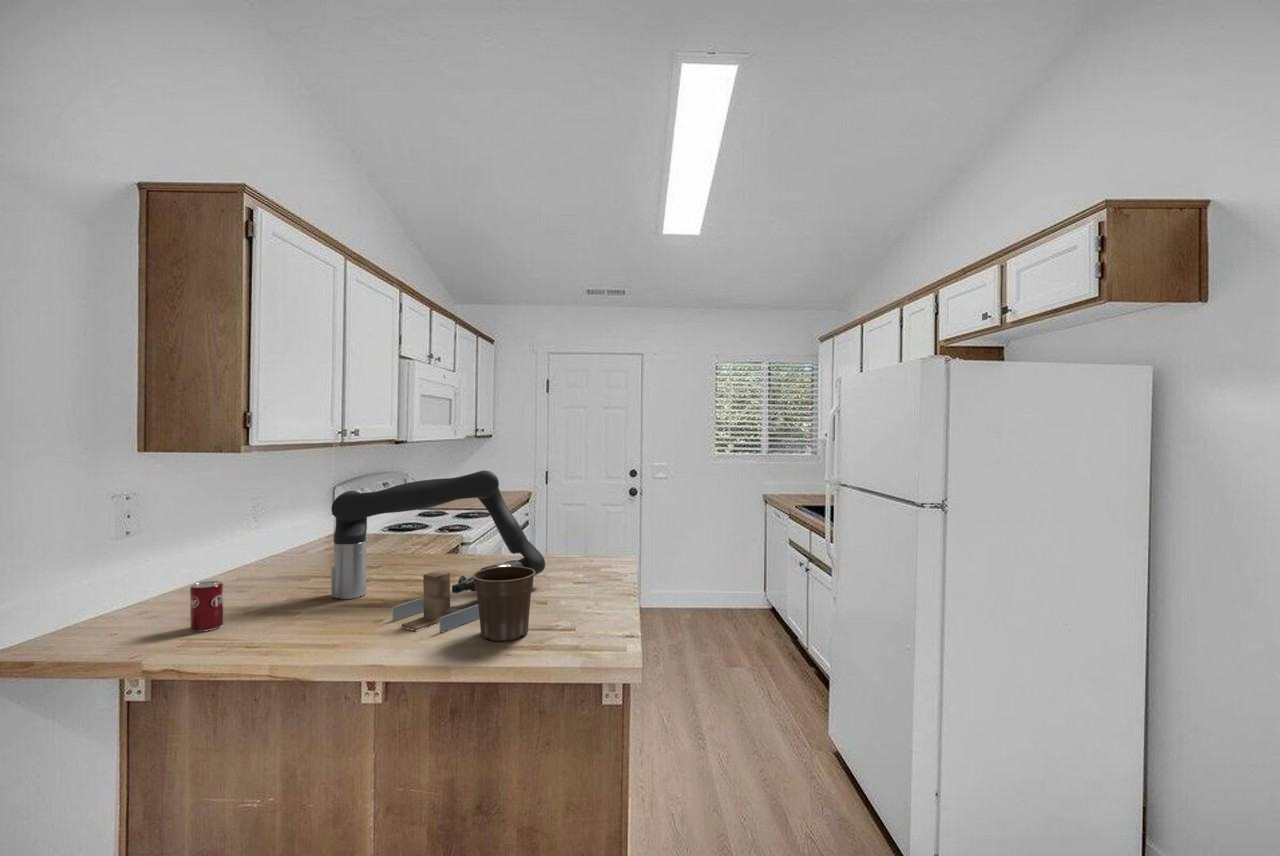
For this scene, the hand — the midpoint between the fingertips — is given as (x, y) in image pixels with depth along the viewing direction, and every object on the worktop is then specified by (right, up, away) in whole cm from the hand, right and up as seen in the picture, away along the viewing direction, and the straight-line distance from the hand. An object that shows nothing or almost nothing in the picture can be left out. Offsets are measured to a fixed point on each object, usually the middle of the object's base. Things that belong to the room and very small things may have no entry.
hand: (453, 589), depth 178 cm
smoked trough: (-3, -7, -5) cm, 9 cm away
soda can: (-63, -7, -13) cm, 64 cm away
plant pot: (+18, -7, -17) cm, 26 cm away
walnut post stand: (-5, -7, -8) cm, 12 cm away
